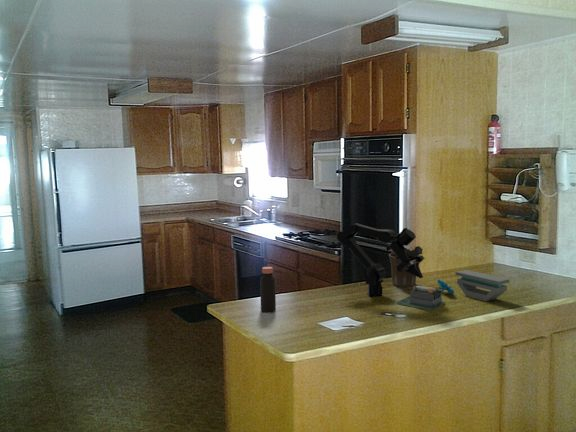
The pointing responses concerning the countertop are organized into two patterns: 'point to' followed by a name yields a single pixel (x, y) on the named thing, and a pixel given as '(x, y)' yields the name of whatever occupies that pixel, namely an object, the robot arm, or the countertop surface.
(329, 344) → the countertop surface
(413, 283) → the plant pot
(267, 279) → the bottle
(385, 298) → the countertop surface
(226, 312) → the countertop surface
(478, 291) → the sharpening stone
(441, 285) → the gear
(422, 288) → the retention strap
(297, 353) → the countertop surface
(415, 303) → the heatsink board
